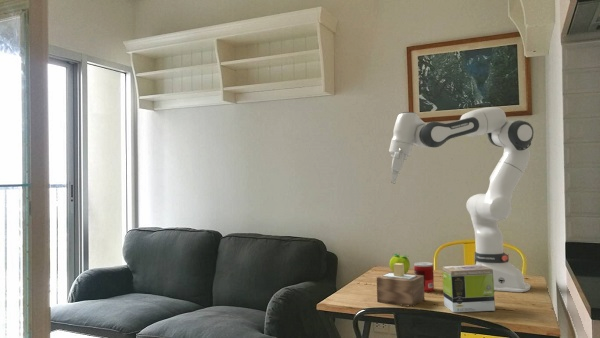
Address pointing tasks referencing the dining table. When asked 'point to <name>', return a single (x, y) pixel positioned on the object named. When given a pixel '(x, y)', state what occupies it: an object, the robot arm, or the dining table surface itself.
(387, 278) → the box
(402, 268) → the lid
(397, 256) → the fruit
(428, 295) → the dining table surface
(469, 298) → the tea box
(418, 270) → the canned food
